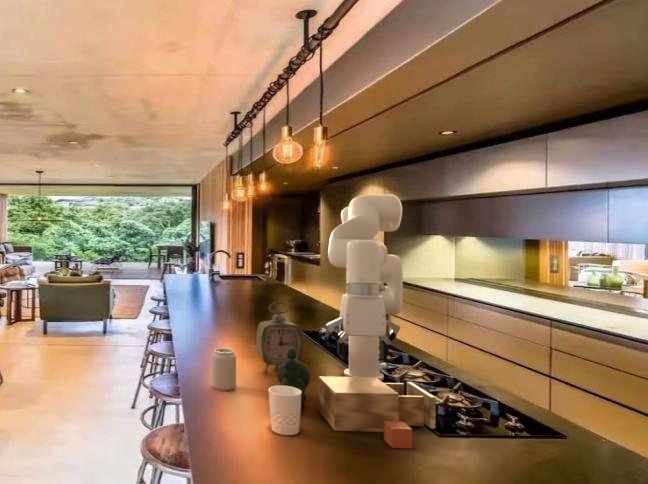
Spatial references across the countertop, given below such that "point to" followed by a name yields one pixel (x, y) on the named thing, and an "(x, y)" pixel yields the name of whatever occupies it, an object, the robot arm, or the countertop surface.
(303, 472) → the countertop surface
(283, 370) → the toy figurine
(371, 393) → the cabinet
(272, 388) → the white cup
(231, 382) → the can
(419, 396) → the drawer
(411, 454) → the countertop surface
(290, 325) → the tabletop clock
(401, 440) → the block
